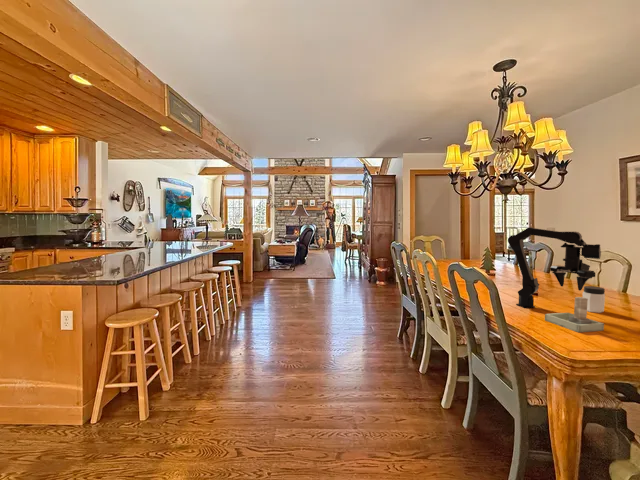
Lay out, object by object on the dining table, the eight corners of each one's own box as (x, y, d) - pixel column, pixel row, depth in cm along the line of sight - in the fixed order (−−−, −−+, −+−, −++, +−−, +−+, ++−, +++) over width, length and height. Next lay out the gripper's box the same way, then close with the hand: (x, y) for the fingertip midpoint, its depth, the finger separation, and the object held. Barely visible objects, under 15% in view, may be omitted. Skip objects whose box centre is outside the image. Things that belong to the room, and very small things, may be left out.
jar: (599, 313, 159) (601, 290, 158) (579, 309, 165) (581, 287, 164) (605, 311, 163) (607, 288, 163) (586, 307, 170) (587, 285, 169)
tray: (544, 320, 148) (545, 314, 148) (567, 318, 151) (568, 312, 151) (578, 332, 133) (578, 325, 133) (603, 330, 135) (604, 323, 135)
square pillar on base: (568, 323, 142) (570, 296, 141) (578, 323, 142) (580, 296, 141) (580, 328, 136) (581, 299, 135) (591, 328, 136) (593, 299, 135)
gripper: (606, 259, 148) (603, 292, 150) (568, 254, 167) (566, 283, 168) (586, 259, 146) (584, 293, 148) (550, 255, 165) (548, 284, 166)
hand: (570, 288), depth 157 cm, fingers open, 9 cm apart
